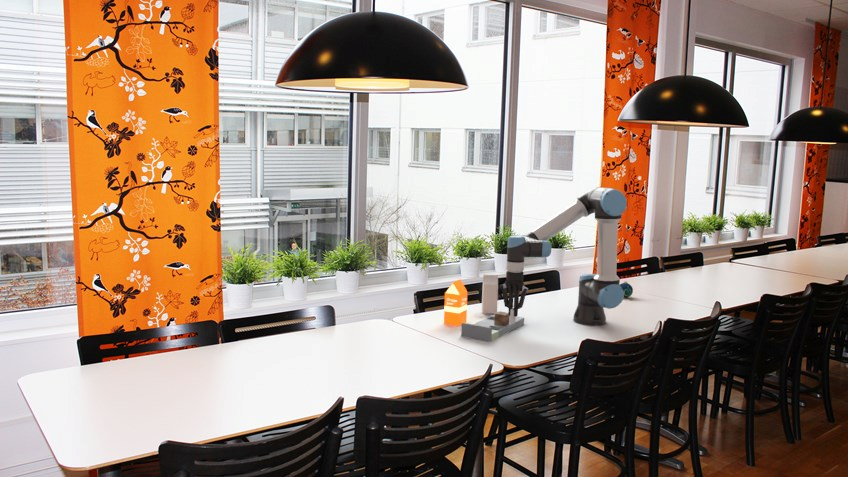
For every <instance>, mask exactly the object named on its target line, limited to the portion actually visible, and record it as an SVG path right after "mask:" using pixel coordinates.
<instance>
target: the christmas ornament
mask: <svg viewBox="0 0 848 477" xmlns="http://www.w3.org/2000/svg"><path fill="white" fill-rule="evenodd" d="M620 287H621V288H622V289H623V291H624V298H623V299H628V298H630V297H632V295H633V292H634V289H633V286H632V285H631V284H630V283H628V280H624V281H623V282H622V283H620Z"/></svg>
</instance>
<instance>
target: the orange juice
mask: <svg viewBox="0 0 848 477" xmlns="http://www.w3.org/2000/svg"><path fill="white" fill-rule="evenodd" d="M443 308H444V309H443V310H444V311H443V316H444V318H443V324H444V325H451V326H456V327H459V326H462V323H467V315H468V313H467V312H468V291H467V288H466V287H465V285H464V283H463V281H462V280H461V279H460V278H459V279H458V280H455V281H452V283H451V285H450V286H449V287H448V288H447V290H446V291H445V292H444V307H443Z"/></svg>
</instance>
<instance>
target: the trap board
mask: <svg viewBox="0 0 848 477" xmlns="http://www.w3.org/2000/svg"><path fill="white" fill-rule="evenodd" d="M494 320H495V314H492V315H490V316H488V317H486V318H483V319H481V320H479V321H477V322H475V323H473V324H472V323H467V322H465V323H462V325H461V330H460V331H461V333H460V335H461V336H460V337H462V338H463V337H464V338H468V339H473V340H478V341H483V342H488V343H491V342H493V341H495V340H497V339H499V338H501V337H502V336H504V335H506V334H507V333H510V332H511V331H513V330H515V329H517V328H519V327H521V326H523V325H524V323H525V317H523V316H518V315H517V316H516V320H515V323H514V324H510V317H509V324H508V325H506V326H500V325H494Z"/></svg>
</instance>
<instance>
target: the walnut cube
mask: <svg viewBox="0 0 848 477" xmlns="http://www.w3.org/2000/svg"><path fill="white" fill-rule="evenodd" d="M509 317H510V316H509V315H508V312H505V311H497V313H495V320H494V325H500V326H506V325H508V324H509Z"/></svg>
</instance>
